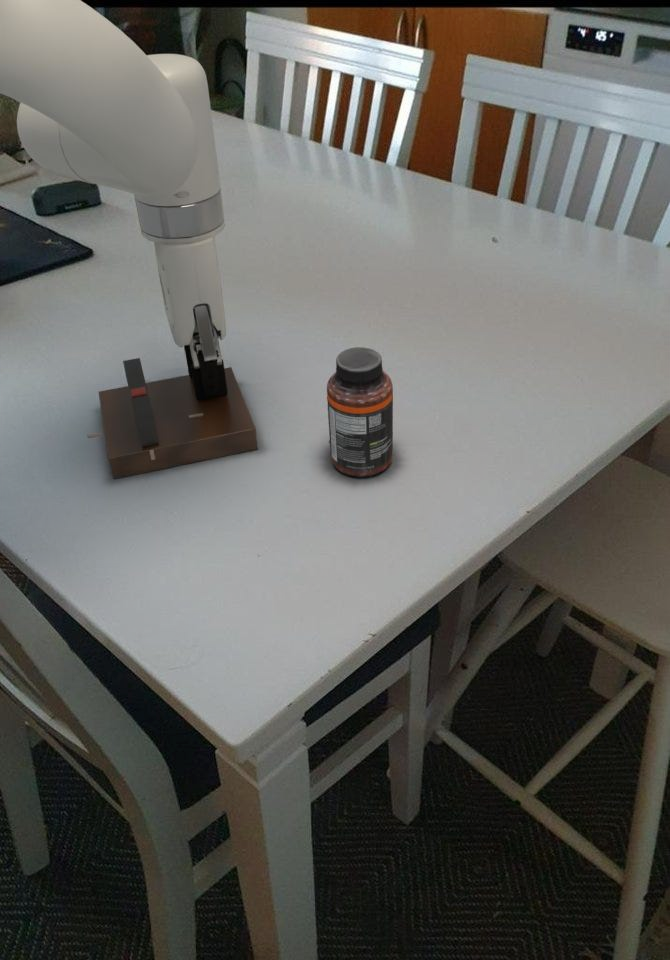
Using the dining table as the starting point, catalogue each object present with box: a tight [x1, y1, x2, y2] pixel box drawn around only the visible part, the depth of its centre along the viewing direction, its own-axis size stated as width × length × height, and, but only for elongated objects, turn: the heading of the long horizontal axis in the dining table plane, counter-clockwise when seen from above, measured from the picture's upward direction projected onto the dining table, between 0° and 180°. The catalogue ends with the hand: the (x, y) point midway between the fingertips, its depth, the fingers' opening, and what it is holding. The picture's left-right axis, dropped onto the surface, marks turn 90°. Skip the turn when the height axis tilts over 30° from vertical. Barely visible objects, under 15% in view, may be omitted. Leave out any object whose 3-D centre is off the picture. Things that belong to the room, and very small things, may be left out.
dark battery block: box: [122, 357, 159, 448], centre depth 77 cm, size 7×2×6 cm, turn 17°
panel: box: [86, 366, 259, 480], centre depth 81 cm, size 16×14×3 cm
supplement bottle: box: [326, 346, 394, 478], centre depth 74 cm, size 6×6×11 cm
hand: (208, 384), depth 84 cm, fingers open, 3 cm apart
